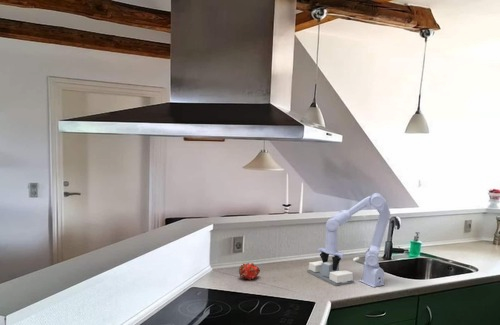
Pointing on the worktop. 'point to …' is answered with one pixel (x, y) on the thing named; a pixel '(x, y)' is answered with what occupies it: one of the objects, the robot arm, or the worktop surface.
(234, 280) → the worktop surface
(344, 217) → the robot arm
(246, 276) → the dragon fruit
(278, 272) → the worktop surface
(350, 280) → the rail board
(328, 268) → the block
